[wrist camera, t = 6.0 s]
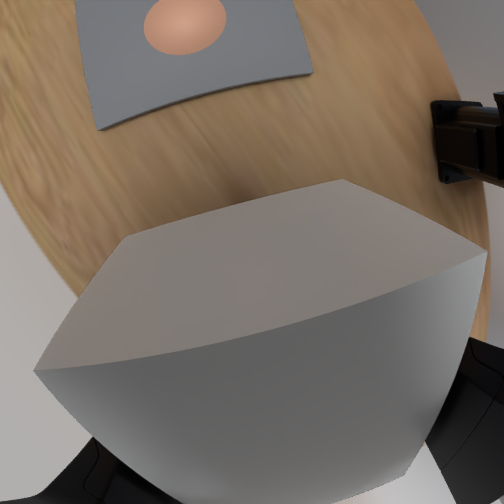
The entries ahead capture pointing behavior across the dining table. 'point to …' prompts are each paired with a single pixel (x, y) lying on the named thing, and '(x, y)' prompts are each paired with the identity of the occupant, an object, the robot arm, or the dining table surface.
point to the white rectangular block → (271, 346)
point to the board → (182, 50)
